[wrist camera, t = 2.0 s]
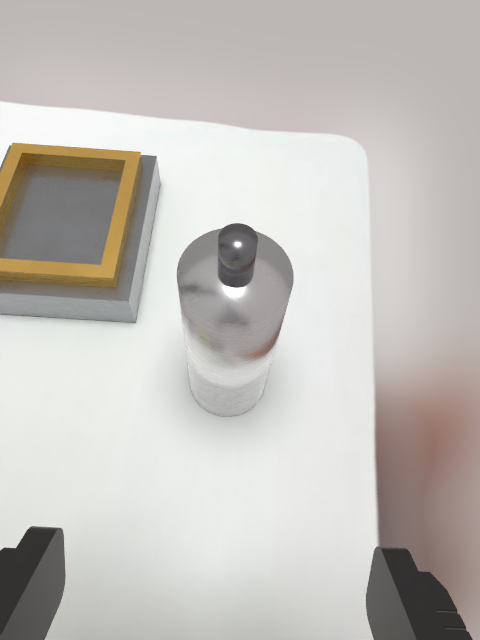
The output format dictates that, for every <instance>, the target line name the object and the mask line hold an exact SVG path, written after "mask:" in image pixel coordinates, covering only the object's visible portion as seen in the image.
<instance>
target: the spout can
mask: <svg viewBox="0 0 480 640" xmlns="http://www.w3.org/2000/svg"><path fill="white" fill-rule="evenodd" d="M177 282H178V290H179V298H180V306H181V314H182V323H183V331H184V339H185V347H186V355H187V363H188V371H189V379H190V387H191V391H192V394H193V396H194V398H195V400H196V401H197V402H198V404H199V405H200V406H201V407H203V408H204V409H205V410H207V411H208V412H210V413H213V414H215V415H219V416H236V415H240V414H243V413H245V412H247V411H249V410H250V409H251V408H253V407H254V406H255V405H256V404H257V402H258V401H259V400H260V398H261V396H262V394H263V391H264V387H265V384H266V380H267V377H268V373H269V369H270V366H271V362H272V359H273V355H274V351H275V348H276V344H277V341H278V337H279V333H280V330H281V326H282V323H283V319H284V315H285V312H286V308H287V305H288V301H289V297H290V294H291V290H292V286H293V269H292V265H291V262H290V260H289V258H288V256H287V254H286V253H285V252H284V250H283V249H282V248H281V247H280V246H279V245H278V244H277V243H276V242H275V241H273V240H272V239H271V238H269V237H267V236H266V235H263V234H261V233H259V232H256V231H254V230H253V229H252V228H251V227H249V226H247V225H245V224H239V223H235V224H230V225H228V226H226V227H224V228H223V229H217V230H214V231H211V232H208V233H206V234H204V235H202V236H200V237H199V238H197V239H196V240H194V241H193V242H192V243H191V244H190V245H189V246H188V247H187V248H186V250H185V251H184V252H183V254H182V256H181V258H180V261H179V263H178V268H177Z"/></svg>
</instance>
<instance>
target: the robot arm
mask: <svg viewBox="0 0 480 640" xmlns="http://www.w3.org/2000/svg"><path fill="white" fill-rule="evenodd" d="M64 585H65V557H64V535H63V530H62V529H61V528H52V527H34V526H32V527H30V528H29V529H28V530H27V531H26V533H25V535H24V536H23V538H22V539H21V541H20V543H19V544H18V546H17V548H3V549H2V550H1V551H0V640H44V639H45V637H46V635H47V632H48V630H49V628H50V625H51V623H52V621H53V618H54V616H55V614H56V611H57V609H58V607H59V604H60V602H61V599H62V595H63V591H64ZM366 609H367V616H368V621H369V625H370V628H371V631H372V635H373V638H374V640H472V638H471V636H470V634H469V632H467V631H466V626H465V624H464V622H463V620H462V618H461V616H460V615H459V614H458V613H457V609H456V607H455V605H454V603H453V601H452V599H451V597H450V595H449V593H448V591H447V590H446V589H445V588H444V587H443V586H442V585H441V583H440V582H439V581H438V580H437V579H436V578H435V577H434V576H433V575H432V574H431V573H430V572H419V571H418V569H417V567H416V565H415V563H414V561H413V559H412V556H411V554H410V552H409V551H408V550H407V549H406V548H393V547H376V548H375V550H374V554H373V560H372V565H371V571H370V576H369V582H368V587H367V593H366Z"/></svg>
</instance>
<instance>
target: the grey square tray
mask: <svg viewBox="0 0 480 640" xmlns="http://www.w3.org/2000/svg"><path fill="white" fill-rule="evenodd" d="M159 188H160V177H159V170H158V163H157V156H148V155H141V152H133V151H119V150H105V149H92V148H78V147H64V146H50V145H36V144H22V143H12V146H9V148H8V150H7V153H6V155H5V158H4V160H3V162H2V165H1V167H0V314H8V315H23V316H39V317H54V318H70V319H85V320H101V321H116V322H132V323H135V322H136V317H137V311H138V306H139V300H140V294H141V289H142V283H143V278H144V272H145V266H146V261H147V255H148V249H149V244H150V238H151V233H152V227H153V221H154V216H155V210H156V205H157V199H158V193H159Z"/></svg>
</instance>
